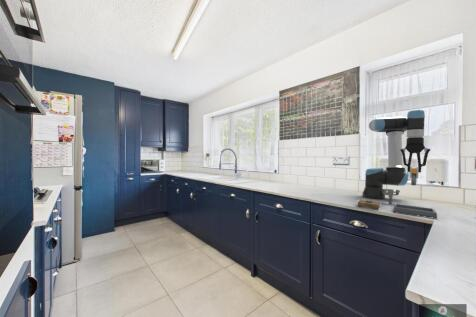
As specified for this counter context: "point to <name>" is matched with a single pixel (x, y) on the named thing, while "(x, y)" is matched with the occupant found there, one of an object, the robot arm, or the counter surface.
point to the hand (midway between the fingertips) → (413, 177)
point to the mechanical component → (390, 193)
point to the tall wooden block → (413, 176)
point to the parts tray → (415, 210)
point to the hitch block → (368, 204)
